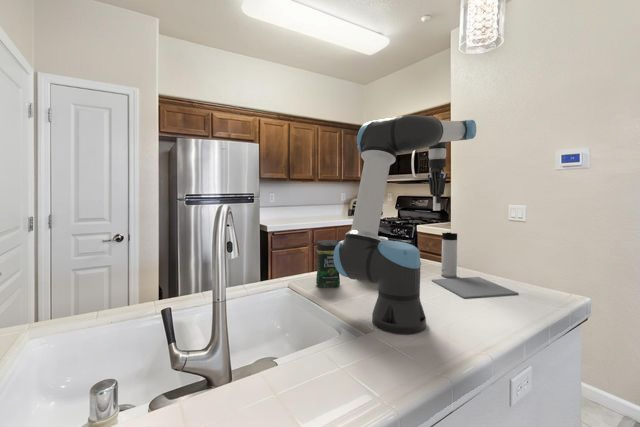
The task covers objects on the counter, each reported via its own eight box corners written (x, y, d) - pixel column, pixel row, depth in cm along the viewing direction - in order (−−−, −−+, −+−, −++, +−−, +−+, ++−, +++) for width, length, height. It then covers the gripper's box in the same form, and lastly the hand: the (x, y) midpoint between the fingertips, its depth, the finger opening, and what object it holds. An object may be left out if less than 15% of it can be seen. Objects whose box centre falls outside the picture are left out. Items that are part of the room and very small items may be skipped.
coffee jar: (318, 289, 124) (317, 242, 123) (315, 283, 132) (314, 239, 130) (342, 287, 125) (341, 241, 124) (337, 281, 133) (337, 238, 132)
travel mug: (440, 277, 138) (441, 232, 137) (442, 273, 144) (443, 230, 143) (455, 279, 135) (456, 233, 134) (457, 275, 141) (458, 231, 140)
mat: (518, 294, 115) (518, 292, 115) (463, 298, 111) (463, 296, 111) (478, 278, 137) (478, 276, 136) (431, 281, 133) (431, 279, 133)
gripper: (453, 157, 138) (452, 211, 139) (437, 160, 150) (436, 209, 152) (437, 157, 136) (436, 211, 138) (422, 160, 149) (422, 209, 151)
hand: (436, 210), depth 145 cm, fingers closed
